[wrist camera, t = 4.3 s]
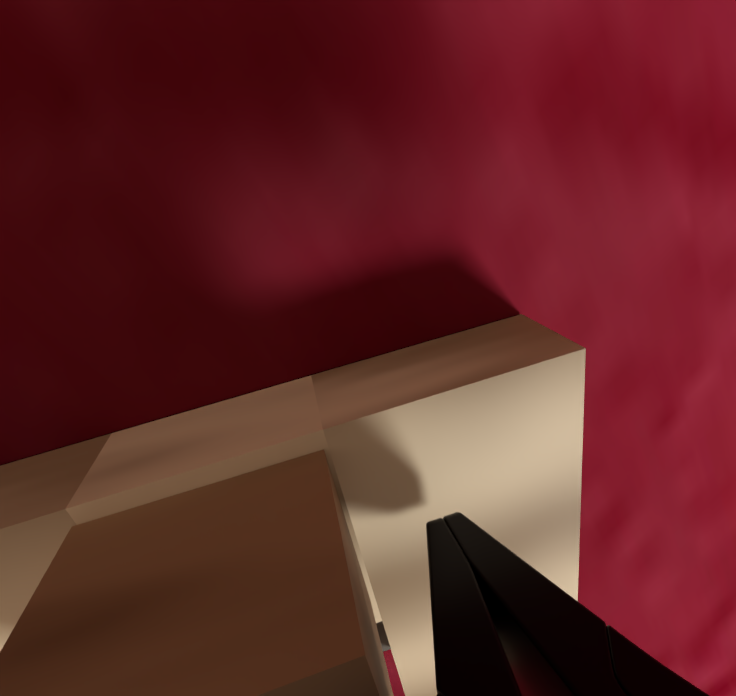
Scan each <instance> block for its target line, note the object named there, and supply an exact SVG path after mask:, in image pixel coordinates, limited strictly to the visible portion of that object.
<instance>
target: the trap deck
mask: <svg viewBox="0 0 736 696" xmlns="http://www.w3.org/2000/svg"><path fill="white" fill-rule="evenodd" d="M585 352H586V348H584V347H582V346H580V345H578V344H576V343H575V342H573V341H571V340H569V339H567V338H565V337H563V336H561V335H560V334H558V333H556V332H554V331H552V330H550V329H548V328H547V327H545V326H543V325H541V324H539V323H537V322H535V321H533V320H532V319H530V318H528V317H526V316H524V315H522V314H520V315H517V316H513V317H510V318H507V319H503V320H500V321H496V322H493V323H489V324H486V325H482V326H479V327H476V328H472V329H469V330H465V331H462V332H458V333H455V334H452V335H448V336H445V337H441V338H438V339H434V340H431V341H427V342H424V343H421V344H417V345H414V346H410V347H407V348H403V349H400V350H396V351H393V352H390V353H386V354H383V355H379V356H376V357H372V358H369V359H366V360H362V361H359V362H355V363H352V364H348V365H345V366H341V367H338V368H335V369H331V370H328V371H324V372H321V373H317V374H314V375H310V376H307V377H304V378H300V379H297V380H293V381H290V382H286V383H283V384H280V385H276V386H273V387H269V388H266V389H262V390H259V391H255V392H252V393H249V394H245V395H242V396H238V397H235V398H231V399H228V400H224V401H221V402H218V403H214V404H211V405H207V406H204V407H200V408H197V409H194V410H190V411H187V412H183V413H180V414H176V415H173V416H169V417H166V418H163V419H159V420H156V421H152V422H149V423H145V424H142V425H138V426H135V427H132V428H128V429H125V430H121V431H118V432H114V433H111V434H108V435H104V436H101V437H97V438H94V439H90V440H87V441H83V442H80V443H77V444H73V445H70V446H66V447H63V448H59V449H56V450H52V451H49V452H46V453H42V454H39V455H35V456H32V457H28V458H25V459H21V460H18V461H15V462H11V463H8V464H4V465H1V466H0V651H1V650H2V648H3V646H4V644H5V643H6V641H7V639H8V637H9V636H10V634H11V632H12V630H13V629H14V627H15V625H16V623H17V622H18V620H19V618H20V616H21V615H22V613H23V611H24V609H25V608H26V606H27V604H28V602H29V601H30V599H31V597H32V595H33V594H34V592H35V590H36V588H37V586H38V585H39V583H40V581H41V579H42V578H43V576H44V574H45V572H46V571H47V569H48V567H49V565H50V564H51V562H52V560H53V558H54V557H55V555H56V553H57V551H58V550H59V548H60V546H61V544H62V543H63V541H64V539H65V537H66V536H67V534H68V532H69V530H70V529H71V527H72V526H75V525H79V524H82V523H85V522H89V521H92V520H95V519H98V518H102V517H105V516H108V515H111V514H115V513H118V512H121V511H124V510H128V509H131V508H134V507H137V506H141V505H144V504H147V503H150V502H154V501H157V500H160V499H164V498H167V497H170V496H173V495H177V494H180V493H183V492H186V491H190V490H193V489H196V488H199V487H203V486H206V485H209V484H212V483H216V482H219V481H222V480H225V479H229V478H232V477H235V476H238V475H242V474H245V473H248V472H252V471H255V470H258V469H261V468H265V467H268V466H271V465H274V464H278V463H281V462H284V461H287V460H291V459H294V458H297V457H300V456H304V455H307V454H310V453H313V452H317V451H320V450H323V449H324V451H325V454H326V457H327V460H328V464H329V467H330V470H331V473H332V477H333V480H334V483H335V486H336V490H337V493H338V496H339V499H340V503H341V506H342V509H343V512H344V516H345V519H346V522H347V525H348V529H349V532H350V535H351V538H352V542H353V545H354V548H355V551H356V555H357V558H358V561H359V564H360V568H361V571H362V574H363V577H364V581H365V584H366V587H367V590H368V594H369V597H370V600H371V604H372V609H373V613H374V617H375V621H376V625H377V629H378V634H379V638H380V642H381V646H382V650H383V652H384V651H386V650H389V649H391V651H392V654H393V657H394V661H395V664H396V667H397V670H398V673H399V677H400V680H401V683H402V686H403V690H404V693H405V696H437V690H436V676H435V660H434V645H433V629H432V613H431V598H430V582H429V566H428V550H427V535H426V523H427V522H429V521H432V520H435V519H438V518H443V517H444V516H446V515H449V514H452V513H455V512H460V513H462V514H463V515H465V516H466V517H467V518H469V519H470V520H471V521H472V522H474V523H475V524H476V525H478V526H479V527H480V528H482V529H483V530H484V531H486V532H487V533H488V534H490V535H491V536H492V537H494V538H495V539H496V540H498V541H499V542H500V543H501V544H503V545H504V546H505V547H507V548H508V549H509V550H511V551H512V552H513V553H515V554H516V555H517V556H519V557H520V558H521V559H523V560H524V561H525V562H526V563H528V564H529V565H530V566H532V567H533V568H534V569H536V570H537V571H538V572H540V573H541V574H542V575H544V576H545V577H546V578H548V579H549V580H550V581H552V582H553V583H554V584H555V585H557V586H558V587H559V588H561V589H562V590H563V591H565V592H566V593H567V594H569V595H570V596H571V597H573V598H574V599H575V600H577V601H578V571H579V539H580V508H581V477H582V446H583V415H584V383H585Z"/></svg>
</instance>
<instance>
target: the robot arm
mask: <svg viewBox="0 0 736 696" xmlns="http://www.w3.org/2000/svg"><path fill="white" fill-rule="evenodd" d="M426 535H427V550H428V566H429V582H430V598H431V613H432V629H433V645H434V660H435V676H436V690H437V696H709V695H708V694H706V693H705V692H703V691H702V690H700V689H698V688H697V687H695V686H694V685H692V684H691V683H689V682H688V681H686V680H685V679H683V678H682V677H680V676H679V675H677V674H676V673H674V672H673V671H671V670H670V669H668V668H667V667H665V666H664V665H662V664H661V663H660V662H658V661H657V660H655V659H654V658H653V657H651V656H650V655H649V654H647V653H646V652H644V651H643V650H642V649H640V648H639V647H638V646H636V645H635V644H633V643H632V642H631V641H629V640H628V639H627V638H625V637H624V636H623V635H621V634H620V633H619V632H618V631H616V630H615V629H614V628H612V627H611V626H609V625H608V626H606V623H605V622H604V621H603V620H602V619H600V618H599V617H598V616H596V615H595V614H594V613H592V612H591V611H590V610H588V609H587V608H586V607H584V606H583V605H582V604H580V603H579V602H578V601H577V600H575V599H574V598H573V597H571V596H570V595H569V594H567V593H566V592H565V591H563V590H562V589H561V588H559V587H558V586H557V585H555V584H554V583H553V582H552V581H550V580H549V579H548V578H546V577H545V576H544V575H542V574H541V573H540V572H538V571H537V570H536V569H534V568H533V567H532V566H530V565H529V564H528V563H526V562H525V561H524V560H523V559H521V558H520V557H519V556H517V555H516V554H515V553H513V552H512V551H511V550H509V549H508V548H507V547H505V546H504V545H503V544H501V543H500V542H499V541H498V540H496V539H495V538H494V537H492V536H491V535H490V534H488V533H487V532H486V531H484V530H483V529H482V528H480V527H479V526H478V525H476V524H475V523H474V522H472V521H471V520H470V519H469V518H467V517H466V516H465V515H463V514H462V513H460V512H455V513H452V514H449V515H446V516H444V517H443V518H438V519H435V520H432V521H429V522H427V523H426Z"/></svg>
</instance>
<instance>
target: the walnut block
mask: <svg viewBox="0 0 736 696" xmlns="http://www.w3.org/2000/svg"><path fill="white" fill-rule="evenodd" d="M0 696H393V692H392V688H391V684H390V680H389V676H388V671H387V667H386V663H385V659H384V655H383V650H382V646H381V642H380V638H379V634H378V629H377V625H376V621H375V617H374V613H373V609H372V604H371V600H370V597H369V594H368V590H367V587H366V584H365V581H364V577H363V574H362V571H361V568H360V564H359V561H358V558H357V555H356V551H355V548H354V545H353V542H352V538H351V535H350V532H349V529H348V525H347V522H346V519H345V516H344V512H343V509H342V506H341V503H340V499H339V496H338V493H337V490H336V486H335V483H334V480H333V477H332V473H331V470H330V467H329V464H328V460H327V457H326V454H325V451H324V449H323V450H320V451H317V452H313V453H310V454H307V455H304V456H300V457H297V458H294V459H291V460H287V461H284V462H281V463H278V464H274V465H271V466H268V467H265V468H261V469H258V470H255V471H252V472H248V473H245V474H242V475H238V476H235V477H232V478H229V479H225V480H222V481H219V482H216V483H212V484H209V485H206V486H203V487H199V488H196V489H193V490H190V491H186V492H183V493H180V494H177V495H173V496H170V497H167V498H164V499H160V500H157V501H154V502H150V503H147V504H144V505H141V506H137V507H134V508H131V509H128V510H124V511H121V512H118V513H115V514H111V515H108V516H105V517H102V518H98V519H95V520H92V521H89V522H85V523H82V524H79V525H75V526H72V527H71V529H70V530H69V532H68V534H67V536H66V537H65V539H64V541H63V543H62V544H61V546H60V548H59V550H58V551H57V553H56V555H55V557H54V558H53V560H52V562H51V564H50V565H49V567H48V569H47V571H46V572H45V574H44V576H43V578H42V579H41V581H40V583H39V585H38V586H37V588H36V590H35V592H34V594H33V595H32V597H31V599H30V601H29V602H28V604H27V606H26V608H25V609H24V611H23V613H22V615H21V616H20V618H19V620H18V622H17V623H16V625H15V627H14V629H13V630H12V632H11V634H10V636H9V637H8V639H7V641H6V643H5V644H4V646H3V648H2V650H1V651H0Z"/></svg>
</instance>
